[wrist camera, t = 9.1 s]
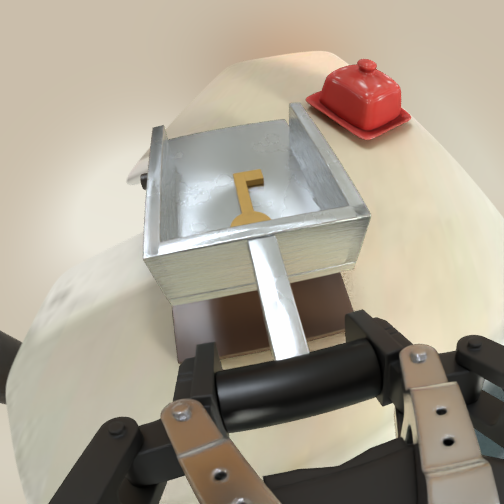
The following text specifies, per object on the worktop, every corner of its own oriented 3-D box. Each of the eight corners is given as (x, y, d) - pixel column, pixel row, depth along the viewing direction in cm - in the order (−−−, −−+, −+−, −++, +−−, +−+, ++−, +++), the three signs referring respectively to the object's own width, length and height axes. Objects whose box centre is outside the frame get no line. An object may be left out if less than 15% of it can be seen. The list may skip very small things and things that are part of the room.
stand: (355, 328, 24) (390, 282, 16) (181, 365, 23) (140, 334, 16) (311, 206, 30) (320, 137, 23) (169, 233, 30) (140, 169, 22)
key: (283, 244, 17) (284, 238, 17) (234, 254, 17) (233, 248, 16) (260, 174, 21) (260, 168, 20) (220, 181, 20) (219, 175, 20)
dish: (400, 394, 12) (449, 364, 8) (187, 444, 12) (146, 438, 8) (285, 126, 25) (284, 75, 21) (168, 147, 25) (154, 97, 21)
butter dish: (363, 150, 35) (376, 90, 27) (300, 105, 40) (302, 51, 32) (413, 124, 37) (428, 74, 30) (354, 86, 43) (361, 40, 35)
